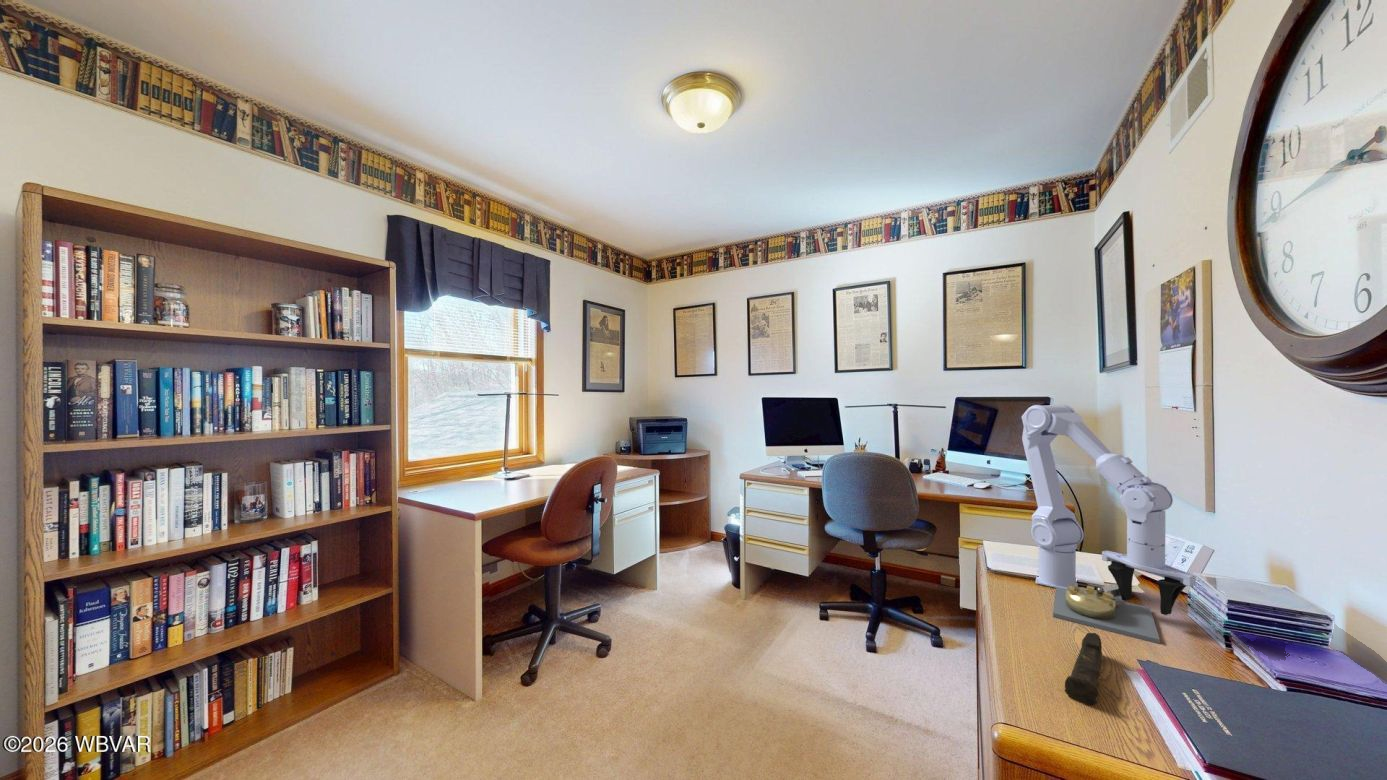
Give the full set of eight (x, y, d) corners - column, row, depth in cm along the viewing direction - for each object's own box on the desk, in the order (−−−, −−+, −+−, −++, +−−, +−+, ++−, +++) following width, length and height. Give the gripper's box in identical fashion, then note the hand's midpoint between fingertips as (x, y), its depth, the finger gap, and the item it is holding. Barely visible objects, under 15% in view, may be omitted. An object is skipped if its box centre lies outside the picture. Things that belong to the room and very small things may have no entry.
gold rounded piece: (1098, 621, 93) (1098, 601, 93) (1056, 603, 101) (1056, 585, 101) (1143, 610, 98) (1143, 591, 98) (1100, 594, 105) (1100, 576, 105)
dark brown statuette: (1097, 711, 70) (1097, 681, 70) (1064, 698, 73) (1064, 669, 73) (1115, 661, 83) (1115, 635, 83) (1086, 651, 86) (1086, 626, 86)
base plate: (1055, 590, 110) (1055, 586, 110) (1149, 611, 100) (1149, 607, 100) (1053, 616, 98) (1053, 612, 98) (1159, 643, 87) (1159, 639, 87)
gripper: (1204, 550, 91) (1204, 619, 91) (1115, 529, 104) (1115, 588, 104) (1184, 555, 88) (1184, 626, 88) (1095, 533, 102) (1095, 593, 102)
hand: (1145, 606), depth 96 cm, fingers open, 6 cm apart
